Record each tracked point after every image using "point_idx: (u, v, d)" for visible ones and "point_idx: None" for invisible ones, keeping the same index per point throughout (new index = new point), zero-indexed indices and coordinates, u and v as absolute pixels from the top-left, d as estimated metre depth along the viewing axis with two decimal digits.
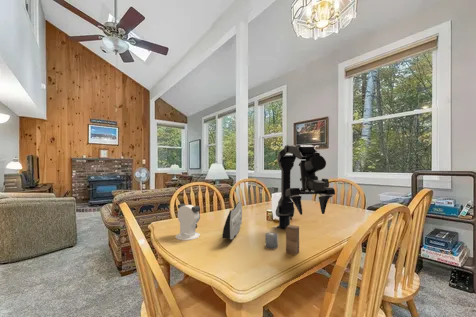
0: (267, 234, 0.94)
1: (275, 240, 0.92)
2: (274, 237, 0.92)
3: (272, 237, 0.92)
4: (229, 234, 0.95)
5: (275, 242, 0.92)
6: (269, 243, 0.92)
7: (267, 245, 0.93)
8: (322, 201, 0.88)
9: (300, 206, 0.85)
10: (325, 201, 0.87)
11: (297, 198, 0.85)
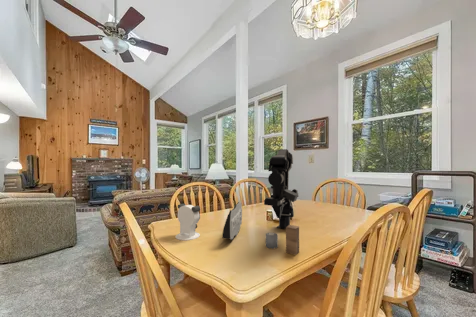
0: (267, 234, 0.94)
1: (275, 240, 0.92)
2: (274, 237, 0.92)
3: (272, 237, 0.92)
4: (229, 234, 0.95)
5: (275, 242, 0.92)
6: (269, 243, 0.92)
7: (267, 245, 0.93)
8: None
9: (280, 211, 1.00)
10: (282, 207, 1.01)
11: (281, 206, 0.98)
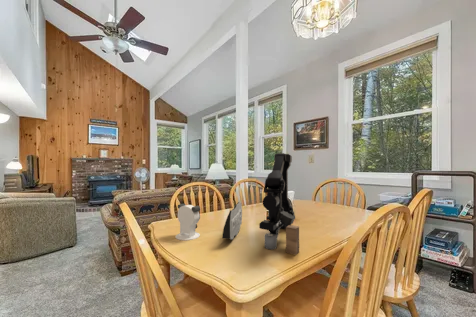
0: (266, 235, 0.93)
1: (274, 241, 0.91)
2: (273, 238, 0.91)
3: (271, 238, 0.91)
4: (229, 234, 0.95)
5: (274, 243, 0.91)
6: (268, 244, 0.91)
7: (266, 246, 0.92)
8: None
9: (276, 234, 0.96)
10: (278, 229, 0.97)
11: (277, 228, 0.94)
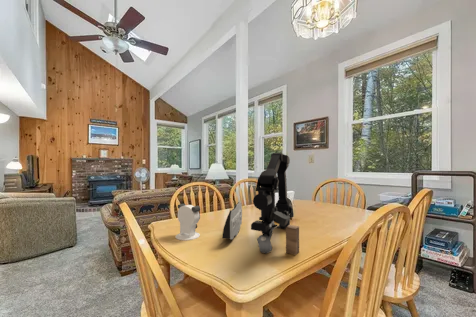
0: (259, 239, 0.88)
1: (268, 245, 0.86)
2: (266, 243, 0.85)
3: (264, 244, 0.85)
4: (229, 234, 0.95)
5: (268, 247, 0.86)
6: (262, 249, 0.87)
7: (261, 250, 0.88)
8: None
9: (270, 236, 0.90)
10: (272, 231, 0.91)
11: (271, 230, 0.88)
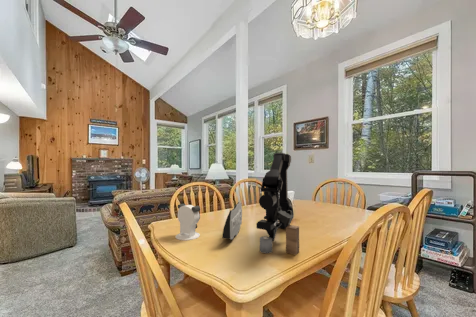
0: (261, 238, 0.90)
1: (269, 244, 0.87)
2: (268, 241, 0.87)
3: (266, 241, 0.87)
4: (229, 234, 0.95)
5: (269, 246, 0.87)
6: (263, 247, 0.87)
7: (261, 250, 0.88)
8: None
9: (274, 234, 0.94)
10: (276, 229, 0.95)
11: (275, 228, 0.92)
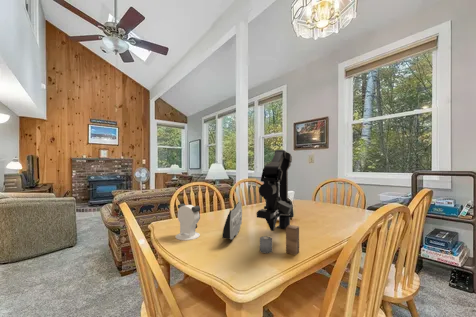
0: (261, 238, 0.90)
1: (269, 244, 0.87)
2: (268, 241, 0.87)
3: (266, 241, 0.87)
4: (229, 234, 0.95)
5: (269, 246, 0.87)
6: (263, 247, 0.87)
7: (261, 250, 0.88)
8: None
9: (274, 224, 0.95)
10: (276, 219, 0.96)
11: (275, 218, 0.93)
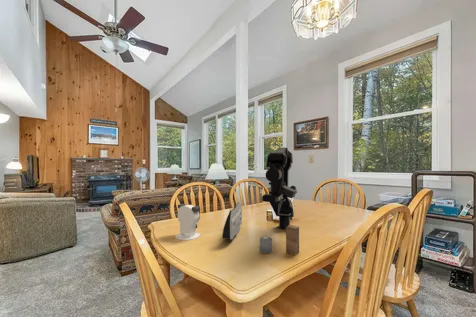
0: (261, 238, 0.90)
1: (269, 244, 0.87)
2: (268, 241, 0.87)
3: (266, 241, 0.87)
4: (229, 234, 0.95)
5: (269, 246, 0.87)
6: (263, 247, 0.87)
7: (261, 250, 0.88)
8: None
9: (278, 208, 0.98)
10: (280, 204, 0.99)
11: (279, 202, 0.96)
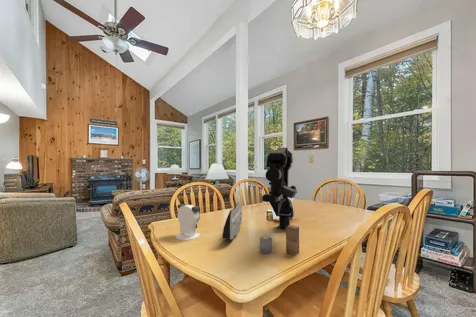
0: (261, 238, 0.90)
1: (269, 244, 0.87)
2: (268, 241, 0.87)
3: (266, 241, 0.87)
4: (229, 234, 0.95)
5: (269, 246, 0.87)
6: (263, 247, 0.87)
7: (261, 250, 0.88)
8: None
9: (278, 208, 0.98)
10: (280, 204, 0.99)
11: (279, 202, 0.96)
